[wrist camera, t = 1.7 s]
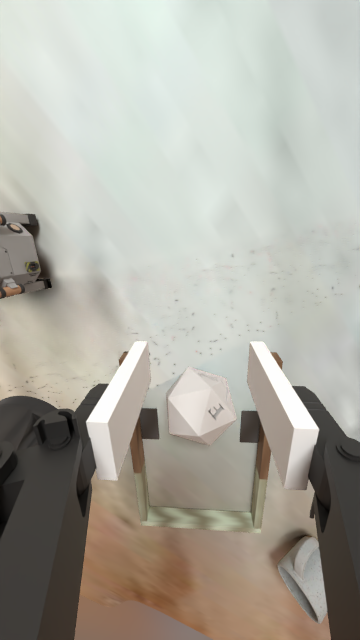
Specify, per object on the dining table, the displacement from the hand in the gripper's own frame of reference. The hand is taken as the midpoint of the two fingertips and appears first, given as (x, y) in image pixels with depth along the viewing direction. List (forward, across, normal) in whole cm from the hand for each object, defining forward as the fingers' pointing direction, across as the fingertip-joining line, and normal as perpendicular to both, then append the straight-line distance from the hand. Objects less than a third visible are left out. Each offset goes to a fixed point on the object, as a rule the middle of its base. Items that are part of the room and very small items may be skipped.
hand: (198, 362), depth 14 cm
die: (+17, 0, -13) cm, 21 cm away
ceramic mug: (+17, +19, -46) cm, 53 cm away
